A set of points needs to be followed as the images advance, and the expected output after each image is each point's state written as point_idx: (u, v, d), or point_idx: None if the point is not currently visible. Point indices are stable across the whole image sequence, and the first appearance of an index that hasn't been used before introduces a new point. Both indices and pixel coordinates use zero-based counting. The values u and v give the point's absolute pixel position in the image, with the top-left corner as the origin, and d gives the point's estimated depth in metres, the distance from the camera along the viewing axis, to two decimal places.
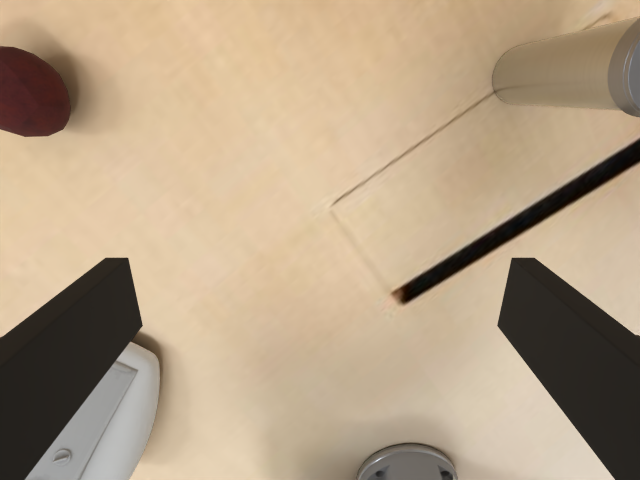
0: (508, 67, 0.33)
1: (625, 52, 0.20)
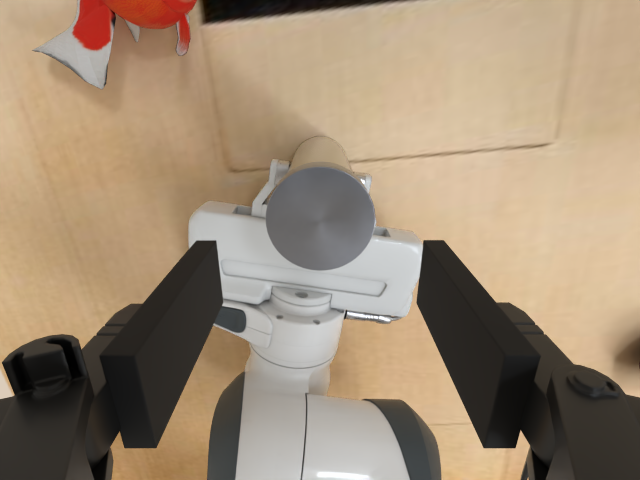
0: None
1: None
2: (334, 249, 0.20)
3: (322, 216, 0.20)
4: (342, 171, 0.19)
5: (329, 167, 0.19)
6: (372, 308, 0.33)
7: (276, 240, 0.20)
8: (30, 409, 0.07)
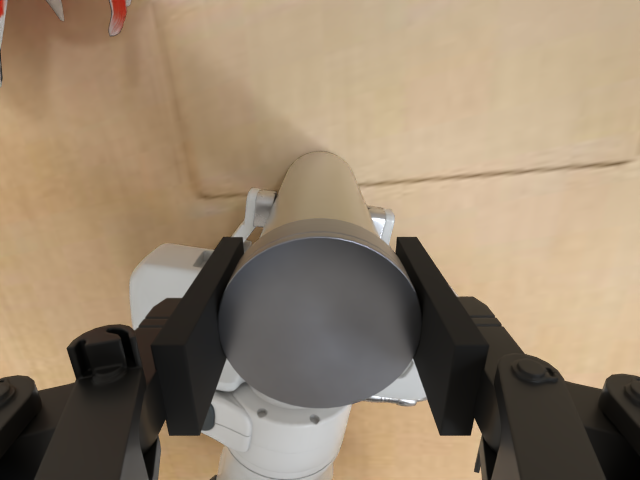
0: None
1: None
2: (345, 376, 0.11)
3: (323, 323, 0.11)
4: (362, 244, 0.10)
5: (337, 237, 0.10)
6: (392, 392, 0.23)
7: (239, 362, 0.11)
8: (90, 394, 0.07)
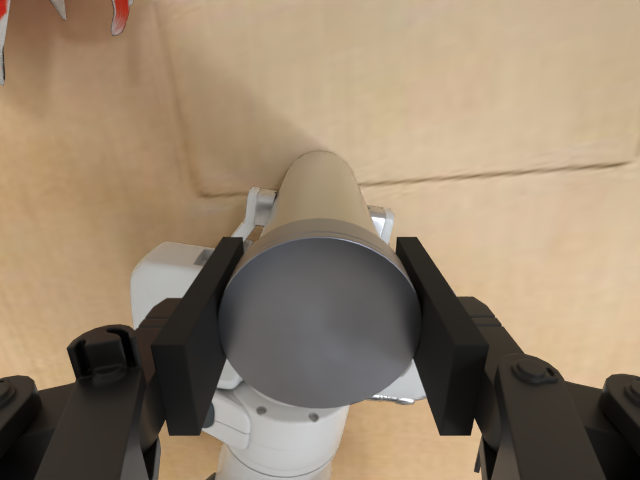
0: None
1: (367, 239, 0.10)
2: (371, 298, 0.10)
3: (309, 330, 0.11)
4: (219, 314, 0.11)
5: (219, 334, 0.11)
6: (391, 391, 0.24)
7: (370, 389, 0.11)
8: (90, 394, 0.07)
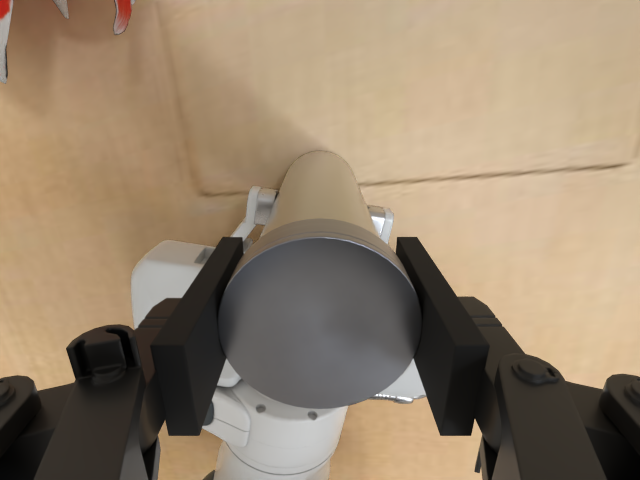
0: None
1: None
2: (269, 297, 0.10)
3: (320, 341, 0.11)
4: (322, 406, 0.12)
5: (344, 404, 0.12)
6: (389, 390, 0.24)
7: (384, 270, 0.10)
8: (89, 394, 0.07)
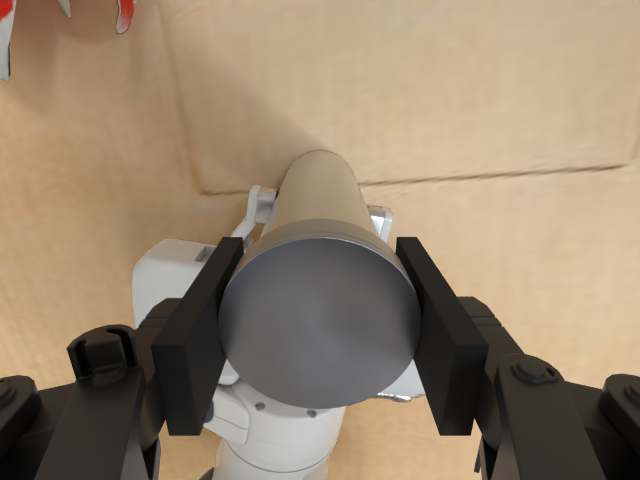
0: None
1: None
2: (292, 375, 0.11)
3: (330, 329, 0.11)
4: (419, 309, 0.10)
5: (413, 289, 0.10)
6: (388, 388, 0.24)
7: (235, 293, 0.10)
8: (90, 394, 0.07)
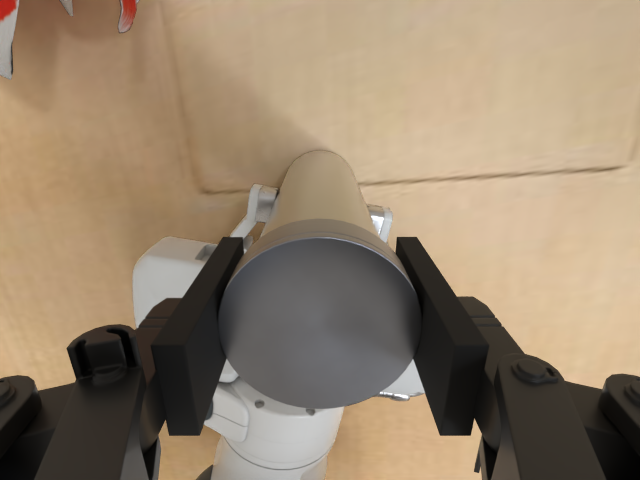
0: None
1: None
2: (379, 345, 0.11)
3: (314, 324, 0.11)
4: (270, 247, 0.10)
5: (249, 260, 0.10)
6: None
7: (296, 399, 0.12)
8: (90, 394, 0.07)
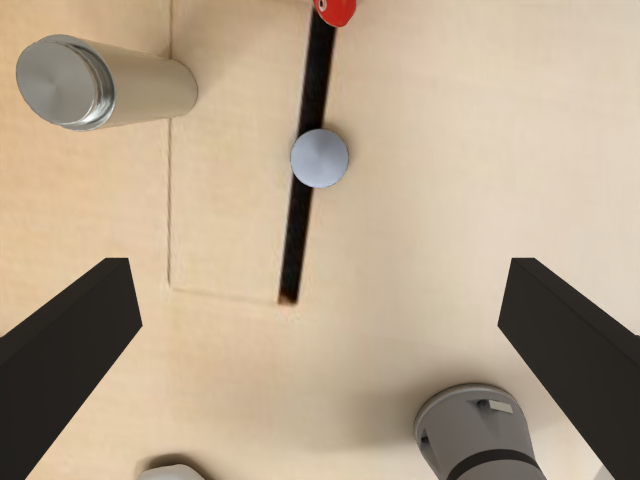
0: None
1: None
2: (336, 164, 0.38)
3: (318, 156, 0.37)
4: (306, 132, 0.37)
5: (300, 136, 0.37)
6: None
7: (312, 184, 0.38)
8: None
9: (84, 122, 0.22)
